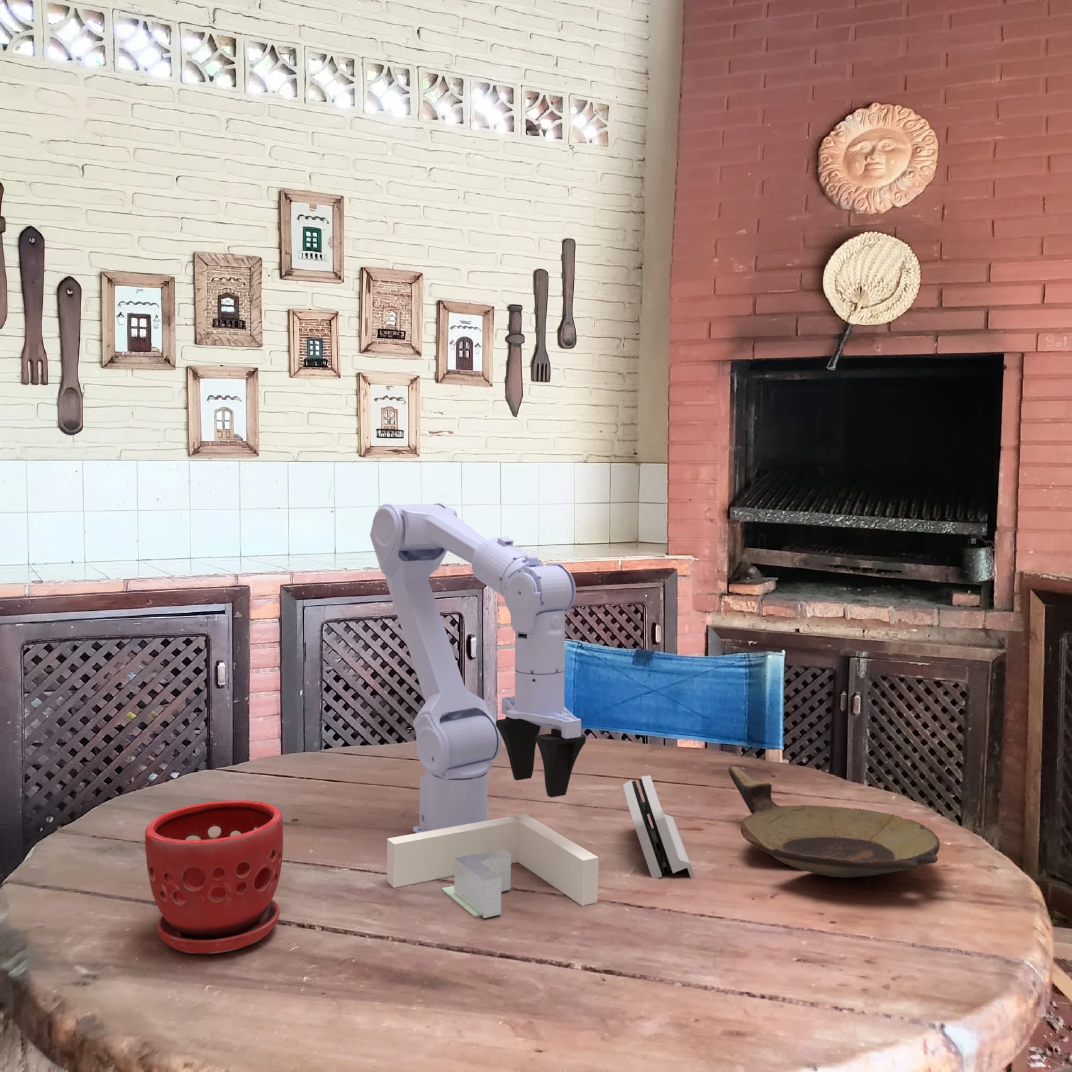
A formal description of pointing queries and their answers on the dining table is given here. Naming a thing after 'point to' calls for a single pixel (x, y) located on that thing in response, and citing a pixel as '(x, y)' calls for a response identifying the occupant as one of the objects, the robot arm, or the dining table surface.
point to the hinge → (655, 830)
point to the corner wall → (514, 834)
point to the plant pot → (215, 874)
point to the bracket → (483, 880)
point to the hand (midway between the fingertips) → (539, 786)
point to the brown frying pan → (832, 835)
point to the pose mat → (459, 900)
